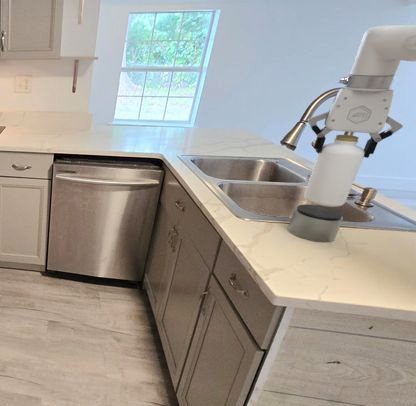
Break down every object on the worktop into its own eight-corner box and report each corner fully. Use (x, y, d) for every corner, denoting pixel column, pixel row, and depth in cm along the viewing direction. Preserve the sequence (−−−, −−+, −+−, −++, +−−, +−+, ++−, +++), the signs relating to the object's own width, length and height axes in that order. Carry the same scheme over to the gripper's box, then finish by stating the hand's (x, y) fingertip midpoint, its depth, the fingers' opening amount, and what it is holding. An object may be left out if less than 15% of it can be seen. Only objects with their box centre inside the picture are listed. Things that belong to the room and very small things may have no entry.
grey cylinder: (339, 235, 101) (349, 212, 98) (327, 246, 96) (337, 222, 93) (295, 222, 109) (302, 201, 106) (282, 232, 104) (289, 209, 101)
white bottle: (344, 201, 98) (371, 135, 91) (342, 211, 93) (370, 142, 86) (304, 193, 104) (327, 131, 97) (300, 202, 99) (323, 137, 92)
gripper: (321, 83, 88) (298, 153, 95) (427, 85, 79) (393, 162, 86) (317, 80, 94) (296, 146, 101) (416, 82, 84) (385, 155, 91)
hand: (340, 153), depth 93 cm, fingers closed on white bottle, 8 cm apart
